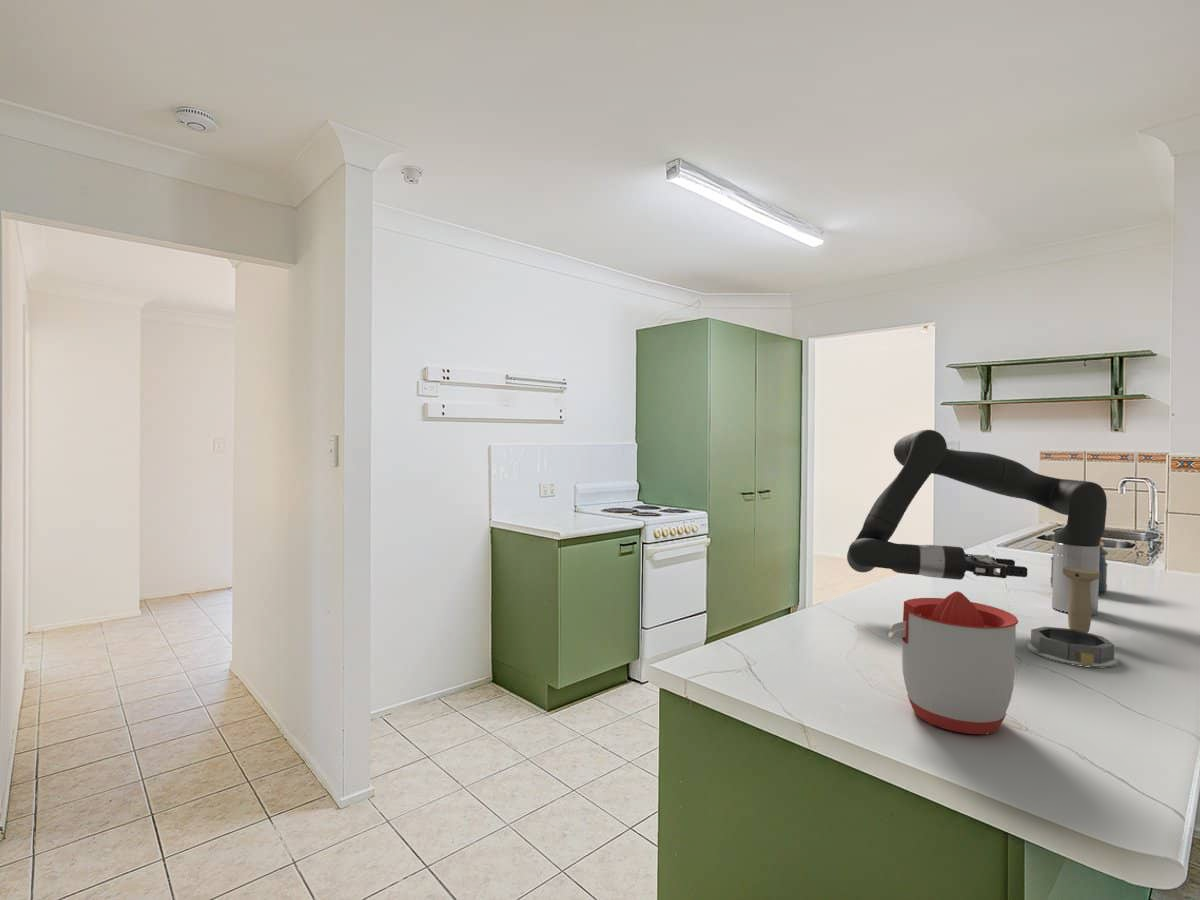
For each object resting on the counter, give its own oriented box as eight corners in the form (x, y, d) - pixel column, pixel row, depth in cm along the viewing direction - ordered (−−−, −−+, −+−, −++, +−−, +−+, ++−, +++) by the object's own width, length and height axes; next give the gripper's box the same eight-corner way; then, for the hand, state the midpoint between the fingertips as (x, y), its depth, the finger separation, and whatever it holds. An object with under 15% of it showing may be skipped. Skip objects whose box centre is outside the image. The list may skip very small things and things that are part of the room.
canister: (1066, 594, 171) (1067, 532, 171) (1040, 583, 184) (1042, 525, 184) (1118, 597, 169) (1120, 534, 169) (1088, 585, 182) (1090, 527, 182)
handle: (1093, 644, 130) (1095, 574, 130) (1057, 636, 135) (1059, 568, 135) (1100, 639, 133) (1102, 571, 133) (1065, 632, 138) (1067, 566, 138)
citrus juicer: (884, 689, 106) (887, 574, 105) (1002, 707, 99) (1005, 585, 99) (889, 728, 91) (892, 596, 91) (1027, 753, 85) (1031, 610, 84)
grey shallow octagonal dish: (1017, 638, 133) (1017, 622, 133) (1096, 646, 128) (1097, 629, 128) (1042, 662, 119) (1043, 644, 119) (1132, 672, 114) (1133, 653, 114)
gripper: (946, 550, 136) (1032, 557, 130) (934, 540, 149) (1011, 546, 144) (945, 584, 136) (1030, 592, 131) (932, 571, 149) (1009, 578, 144)
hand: (1020, 568), depth 137 cm, fingers open, 8 cm apart
